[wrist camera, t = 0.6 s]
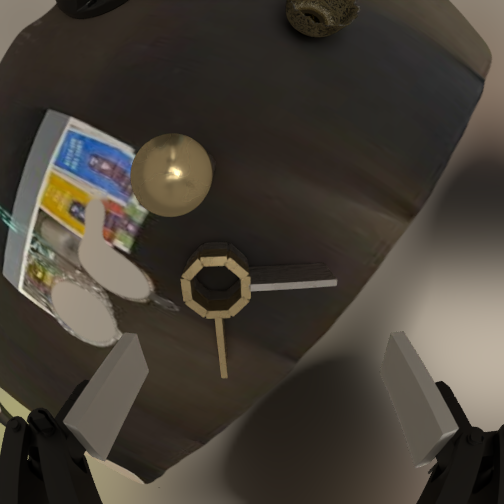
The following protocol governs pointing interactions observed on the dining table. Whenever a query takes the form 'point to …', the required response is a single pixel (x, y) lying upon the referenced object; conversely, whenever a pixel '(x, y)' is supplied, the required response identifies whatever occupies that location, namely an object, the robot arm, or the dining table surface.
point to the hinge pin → (172, 174)
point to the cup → (320, 16)
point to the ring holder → (241, 285)
